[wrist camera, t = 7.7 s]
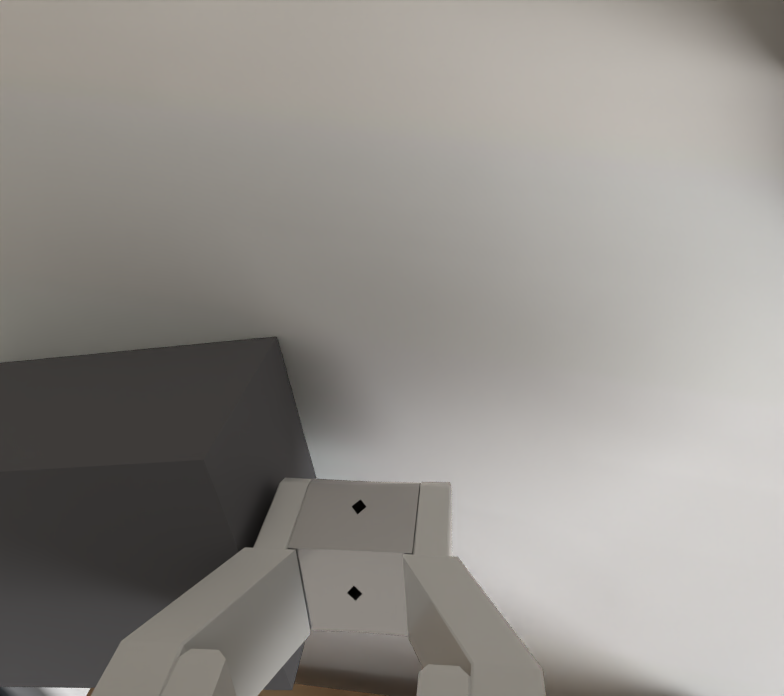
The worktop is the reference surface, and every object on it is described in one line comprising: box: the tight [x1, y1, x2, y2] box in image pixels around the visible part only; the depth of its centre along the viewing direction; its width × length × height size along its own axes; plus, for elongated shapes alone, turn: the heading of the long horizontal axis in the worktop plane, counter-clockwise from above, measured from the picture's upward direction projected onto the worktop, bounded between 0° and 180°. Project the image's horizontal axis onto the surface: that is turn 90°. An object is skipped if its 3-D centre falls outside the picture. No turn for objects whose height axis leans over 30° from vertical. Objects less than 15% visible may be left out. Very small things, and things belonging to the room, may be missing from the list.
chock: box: [0, 337, 316, 690], centre depth 11 cm, size 5×6×4 cm
